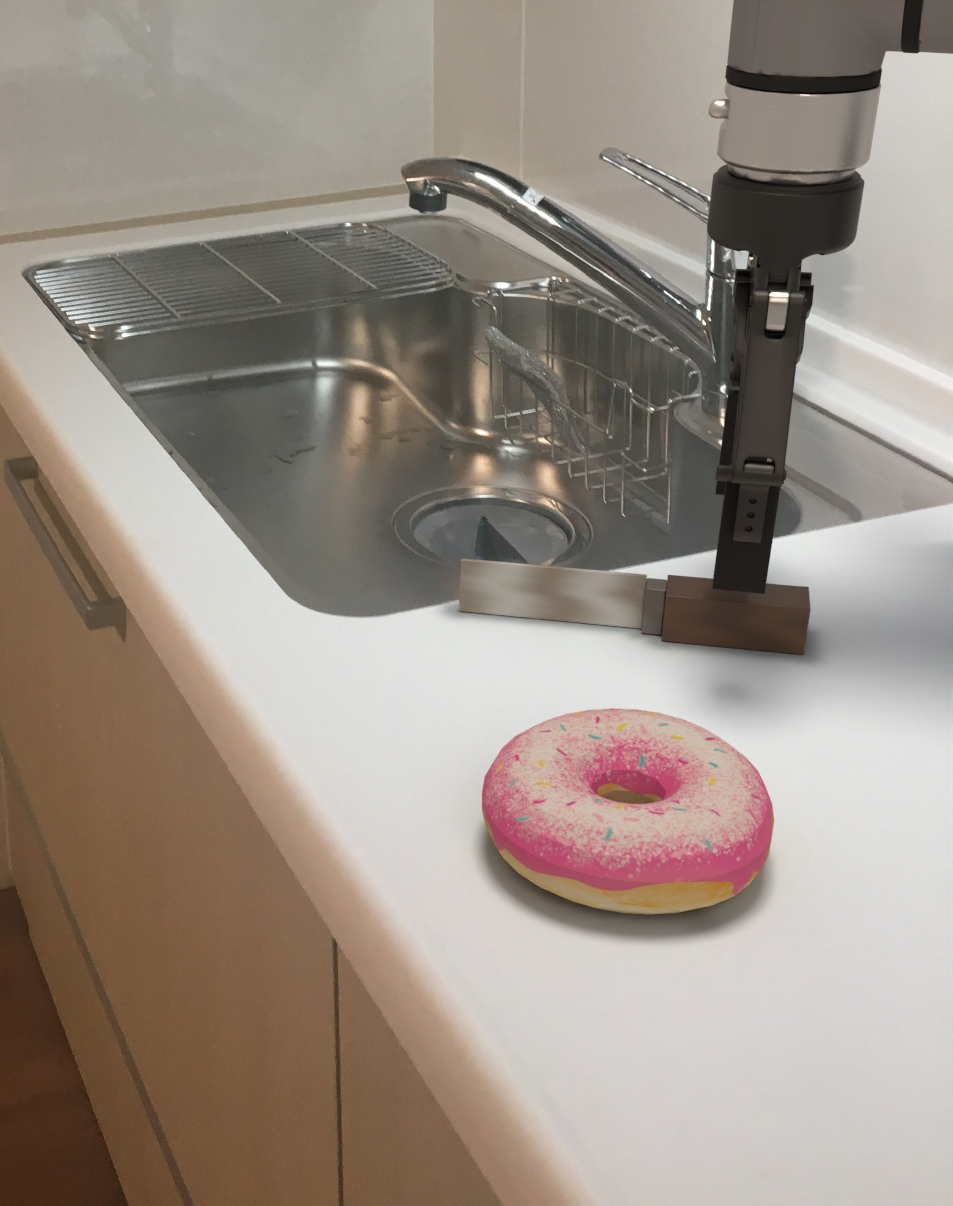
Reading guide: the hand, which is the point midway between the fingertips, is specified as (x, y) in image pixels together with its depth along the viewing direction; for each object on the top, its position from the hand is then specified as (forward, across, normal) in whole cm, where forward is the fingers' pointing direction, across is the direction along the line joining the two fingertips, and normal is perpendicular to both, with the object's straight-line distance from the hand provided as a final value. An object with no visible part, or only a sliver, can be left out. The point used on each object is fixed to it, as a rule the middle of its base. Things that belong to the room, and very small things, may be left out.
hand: (738, 539), depth 95 cm
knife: (+6, 0, -6) cm, 9 cm away
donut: (+7, +24, -5) cm, 25 cm away
